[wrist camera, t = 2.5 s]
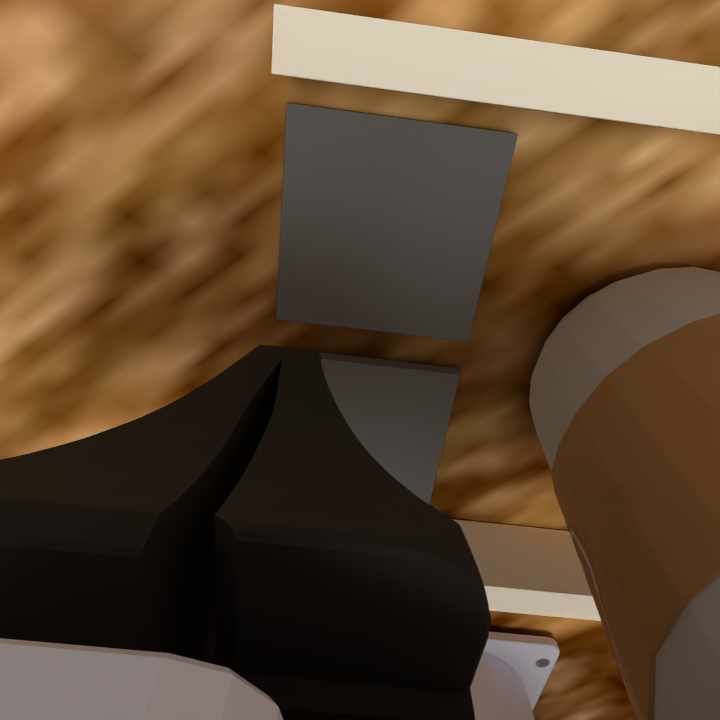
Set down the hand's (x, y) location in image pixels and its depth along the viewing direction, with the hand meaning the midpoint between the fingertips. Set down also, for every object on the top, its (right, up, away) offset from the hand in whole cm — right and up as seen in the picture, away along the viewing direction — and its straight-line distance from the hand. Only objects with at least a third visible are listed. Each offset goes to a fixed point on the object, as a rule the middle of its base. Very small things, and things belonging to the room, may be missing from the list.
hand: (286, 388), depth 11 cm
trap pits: (+2, +1, +3) cm, 3 cm away
